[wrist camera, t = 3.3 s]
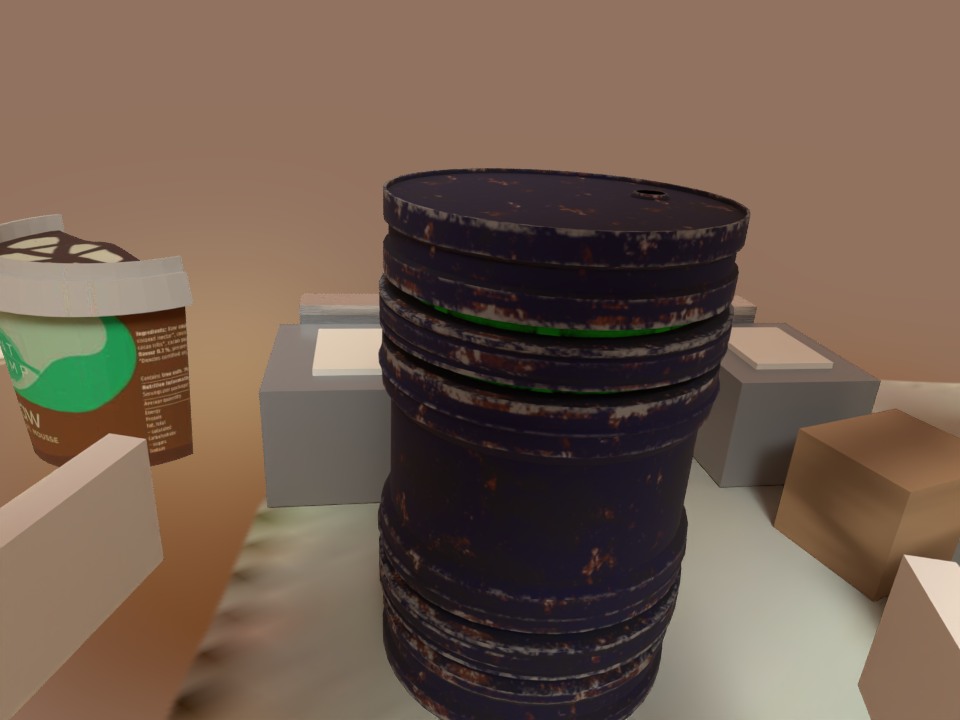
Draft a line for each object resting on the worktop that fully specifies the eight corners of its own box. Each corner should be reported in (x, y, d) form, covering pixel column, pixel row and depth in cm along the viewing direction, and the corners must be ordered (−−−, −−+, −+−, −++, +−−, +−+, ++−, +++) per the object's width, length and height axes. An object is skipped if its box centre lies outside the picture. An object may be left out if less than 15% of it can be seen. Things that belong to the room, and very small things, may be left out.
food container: (-39, 424, 35) (-90, 227, 31) (87, 387, 40) (55, 211, 36) (75, 522, 28) (27, 286, 25) (210, 464, 33) (188, 258, 29)
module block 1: (451, 498, 31) (457, 381, 29) (267, 507, 30) (258, 385, 28) (434, 417, 39) (437, 318, 36) (285, 420, 37) (279, 318, 35)
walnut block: (971, 567, 29) (1012, 463, 27) (872, 603, 27) (910, 492, 25) (866, 502, 33) (896, 408, 31) (772, 528, 31) (799, 428, 29)
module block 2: (850, 481, 35) (882, 375, 32) (719, 487, 33) (743, 377, 31) (765, 409, 42) (786, 318, 40) (655, 411, 41) (671, 318, 39)
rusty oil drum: (431, 797, 18) (454, 241, 13) (349, 566, 27) (340, 167, 21) (727, 692, 22) (848, 225, 16) (574, 518, 30) (618, 168, 25)
